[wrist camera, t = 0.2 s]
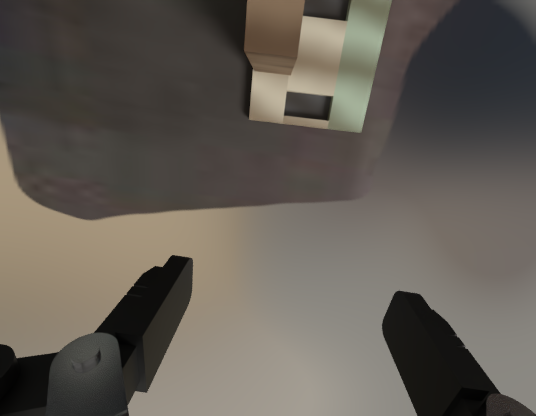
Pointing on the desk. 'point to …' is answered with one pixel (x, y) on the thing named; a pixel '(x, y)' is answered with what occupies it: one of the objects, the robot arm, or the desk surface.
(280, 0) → the walnut block
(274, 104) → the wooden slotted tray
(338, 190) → the desk surface
